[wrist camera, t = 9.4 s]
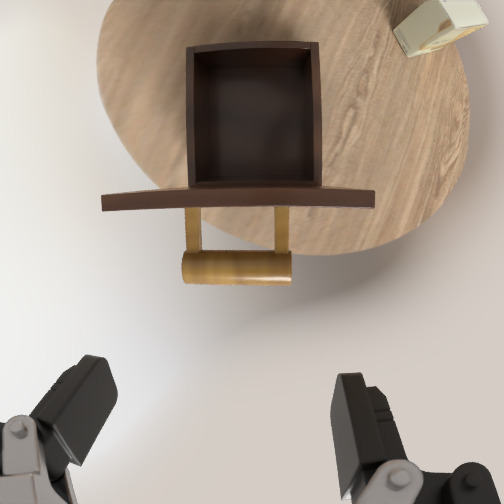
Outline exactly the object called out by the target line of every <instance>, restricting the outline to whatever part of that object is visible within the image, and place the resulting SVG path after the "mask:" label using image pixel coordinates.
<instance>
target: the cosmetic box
mask: <svg viewBox="0 0 504 504" xmlns="http://www.w3.org/2000/svg"><path fill="white" fill-rule="evenodd" d="M488 24H489V22H488V20H487V18H486V16H485V14H484V13H483V11H482V9H481V8H480V6H479V4H478V2H477V1H476V0H426V1H425V2H423V3H422V4H421V5H420V6H419V7H418V8H417V9H416V10H414V11H413V12H412V13H411V14H410V15H409V16H408V17H407V18H406V19H404V20H403V21H402V22H401V23H400V24H399V25H398V26H397V27H396V28H395V29H394V30H393V33H394V34H395V36H396V38H397V40H398V41H399V43H400V45H401V47H402V48H403V50H404V52H405V53H406V55H407V57H413V56H417V55H421V54H425V53H429V52H432V51H435V50H439V49H441V48H443V47H445V46H447V45H448V44H450V43H452V42H454V41H456V40H458V39H460V38H461V37H464V36H466V35H468V34H470V33H472V32H473V31H476V30H477V29H480V28H481V27H484V26H486V25H488Z"/></svg>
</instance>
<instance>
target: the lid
mask: <svg viewBox="0 0 504 504" xmlns="http://www.w3.org/2000/svg"><path fill="white" fill-rule="evenodd" d="M101 202H102V211H119V210H139V209H163V208H164V209H165V208H185V230H186V248H187V249H186V251H185V252H184V254H183V258H182V277H183V280H184V282H185V283H186V284H211V285H270V286H271V285H272V286H273V285H275V286H277V285H278V286H290V285H291V281H292V253H291V251H289V207H334V208H367V209H374V208H375V191H374V190H364V189H353V188H342V187H329V186H299V185H243V186H203V187H182V188H169V189H156V190H145V191H135V192H125V193H115V194H106V195H101ZM200 207H275V250H202V237H201V209H200Z"/></svg>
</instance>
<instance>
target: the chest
mask: <svg viewBox="0 0 504 504" xmlns="http://www.w3.org/2000/svg"><path fill="white" fill-rule="evenodd" d="M186 133H187V165H188V187H203V186H243V185H299V186H322V109H321V80H320V59H319V43H318V42H301V41H253V42H233V43H220V44H210V45H200V46H193V47H187V48H186Z"/></svg>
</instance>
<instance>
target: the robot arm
mask: <svg viewBox="0 0 504 504" xmlns="http://www.w3.org/2000/svg"><path fill="white" fill-rule="evenodd" d="M117 396H118V393H117V387H116V385H115V382H114V379H113V376H112V373H111V370H110V367H109V364H108V361H107V360H106V359H105V358H102V357H97V356H92V355H85V356H84V357H83V358H82V359H81V360H80V361H79V363H78V364H77V365H74V366H72V367H71V368H69V369H68V370H66V371H65V372H63V374H62V375H61V376H60V377H59V379H58V380H57V381H56V383H54V385H53V386H52V387H51V390H49V391H48V392H47V393H46V394H45V396H44V397H43V398H42V400H41V401H40V402H39V403H38V405H37V406H36V407H35V409H34V410H33V411H32V412H31V414H30V415H29V416H26V415H18V416H15V417H13V418H11V419H9V420H8V421H7V422H6V423H1V422H0V504H78V503H77V500H76V496H75V493H74V489H73V485H72V481H71V477H70V473H69V470H68V468H67V465H68V464H69V462H71V463H73V464H76V465H78V466H82V464H83V462H84V460H85V458H86V456H87V454H88V452H89V451H90V449H91V447H92V445H93V443H94V441H95V440H96V438H97V436H98V434H99V432H100V430H101V429H102V427H103V425H104V423H105V422H106V420H107V418H108V416H109V414H110V413H111V410H112V409H113V407H114V406H115V404H116V401H117ZM330 414H331V415H330V417H331V426H332V433H333V440H334V447H335V454H336V462H337V469H338V477H339V485H340V493H341V500H349V499H351V500H352V504H501V502H500V499H499V497H498V493H497V491H496V488H495V485H494V482H493V479H492V477H491V474H490V472H489V471H488V469H487V468H486V467H485V466H483V465H481V464H479V463H475V462H468V463H465V464H462V465H460V466H459V467H457V469H455V471H454V472H453V473H431V472H425V471H422V470H420V469H419V467H418V466H416V465H415V464H414V463H412V462H410V461H409V460H408V459H407V456H406V454H405V451H404V448H403V445H402V441H401V438H400V435H399V433H398V430H397V427H396V424H395V421H394V420H393V415H392V412H391V411H390V407H389V404H388V401H387V398H386V396H385V395H384V394H383V393H382V392H381V391H380V390H379V389H378V388H377V387H376V386H374V387H366V385H365V381H364V378H363V375H362V374H361V373H360V372H359V373H341V374H338V376H337V380H336V384H335V390H334V394H333V399H332V404H331V412H330Z"/></svg>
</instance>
